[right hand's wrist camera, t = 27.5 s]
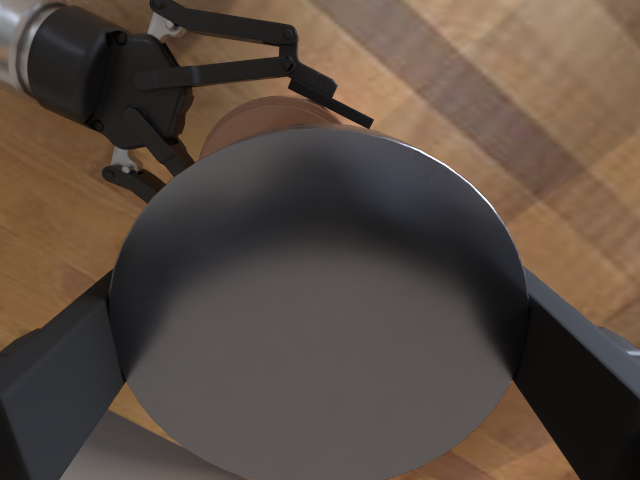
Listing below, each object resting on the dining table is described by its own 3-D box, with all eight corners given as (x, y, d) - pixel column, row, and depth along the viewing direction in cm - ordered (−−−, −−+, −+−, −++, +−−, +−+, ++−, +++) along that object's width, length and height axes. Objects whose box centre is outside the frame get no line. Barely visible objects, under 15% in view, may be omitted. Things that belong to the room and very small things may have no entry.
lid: (444, 454, 14) (462, 506, 12) (142, 420, 14) (115, 469, 12) (551, 156, 10) (599, 168, 9) (136, 91, 10) (95, 90, 8)
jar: (220, 168, 37) (157, 216, 22) (275, 71, 34) (245, 53, 19) (309, 224, 39) (306, 301, 24) (369, 137, 36) (405, 167, 21)
